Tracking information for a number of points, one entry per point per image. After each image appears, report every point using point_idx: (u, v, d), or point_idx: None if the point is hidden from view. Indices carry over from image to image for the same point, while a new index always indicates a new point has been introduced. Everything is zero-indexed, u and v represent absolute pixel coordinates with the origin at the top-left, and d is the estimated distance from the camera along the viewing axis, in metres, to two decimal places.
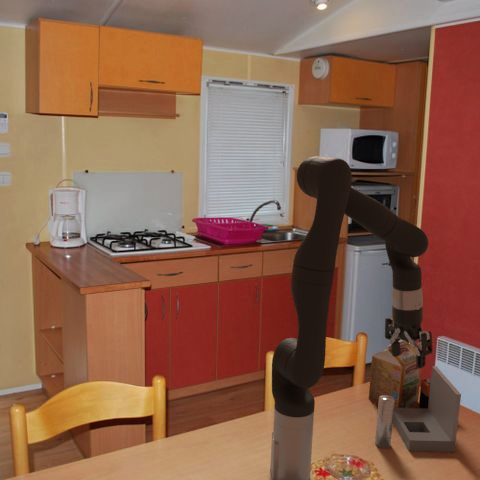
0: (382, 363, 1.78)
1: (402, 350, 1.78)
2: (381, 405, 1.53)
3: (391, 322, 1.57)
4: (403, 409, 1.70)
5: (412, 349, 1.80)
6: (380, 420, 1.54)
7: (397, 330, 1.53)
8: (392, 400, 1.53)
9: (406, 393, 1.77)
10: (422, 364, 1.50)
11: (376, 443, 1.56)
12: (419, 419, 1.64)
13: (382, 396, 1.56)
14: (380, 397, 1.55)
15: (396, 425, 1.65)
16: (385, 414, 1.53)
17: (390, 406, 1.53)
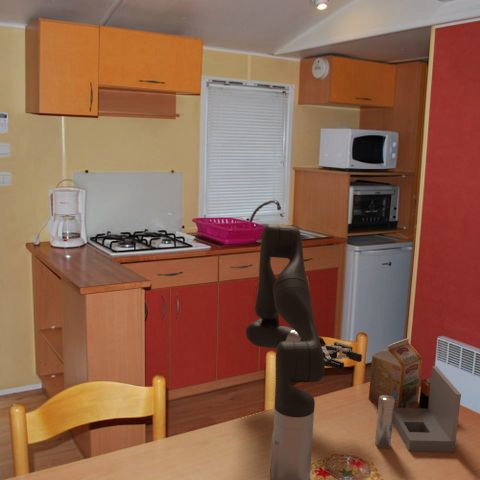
0: (382, 363, 1.78)
1: (402, 350, 1.78)
2: (381, 405, 1.53)
3: None
4: (403, 409, 1.70)
5: (412, 349, 1.80)
6: (380, 420, 1.54)
7: (322, 347, 1.65)
8: (392, 400, 1.53)
9: (406, 393, 1.77)
10: None
11: (376, 443, 1.56)
12: (419, 419, 1.64)
13: (382, 396, 1.56)
14: (380, 397, 1.55)
15: (396, 425, 1.65)
16: (385, 414, 1.53)
17: (390, 406, 1.53)
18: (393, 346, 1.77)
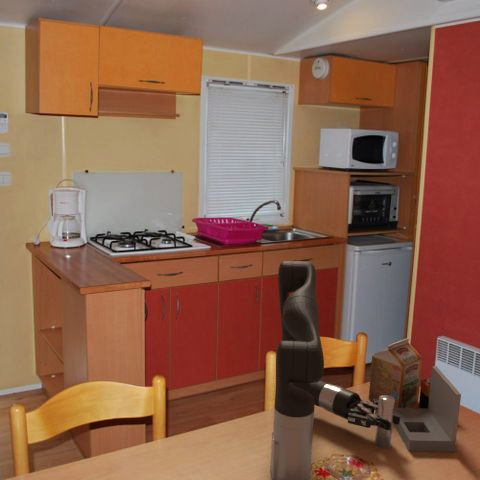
0: (382, 363, 1.78)
1: (402, 350, 1.78)
2: (381, 404, 1.53)
3: None
4: (403, 409, 1.70)
5: (412, 349, 1.80)
6: None
7: (360, 405, 1.59)
8: (392, 400, 1.53)
9: (406, 393, 1.77)
10: None
11: (376, 443, 1.56)
12: (419, 419, 1.64)
13: (382, 396, 1.56)
14: (380, 397, 1.55)
15: (396, 425, 1.65)
16: (385, 414, 1.53)
17: (390, 406, 1.53)
18: (393, 346, 1.77)
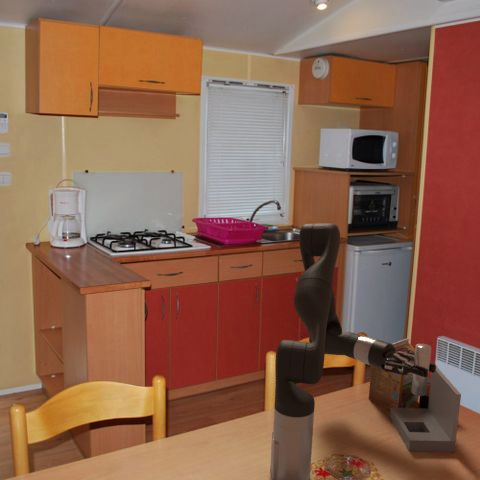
0: None
1: (402, 350, 1.78)
2: (418, 352, 1.55)
3: None
4: (403, 409, 1.70)
5: (412, 349, 1.80)
6: None
7: (396, 354, 1.60)
8: (429, 348, 1.55)
9: (406, 393, 1.77)
10: None
11: (412, 391, 1.58)
12: (419, 419, 1.64)
13: (419, 344, 1.58)
14: (417, 345, 1.57)
15: (396, 425, 1.65)
16: (422, 362, 1.55)
17: (427, 353, 1.55)
18: None
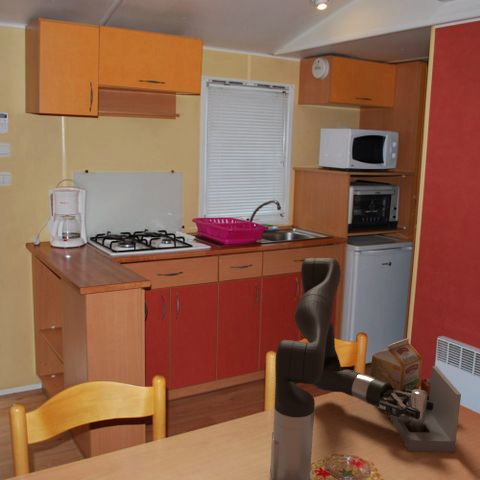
0: (382, 363, 1.78)
1: (402, 350, 1.78)
2: (414, 398, 1.58)
3: None
4: None
5: (412, 349, 1.80)
6: None
7: (393, 394, 1.62)
8: (425, 394, 1.58)
9: None
10: None
11: None
12: None
13: (415, 390, 1.60)
14: (413, 391, 1.59)
15: (396, 425, 1.65)
16: (418, 408, 1.57)
17: (423, 400, 1.57)
18: (393, 346, 1.77)
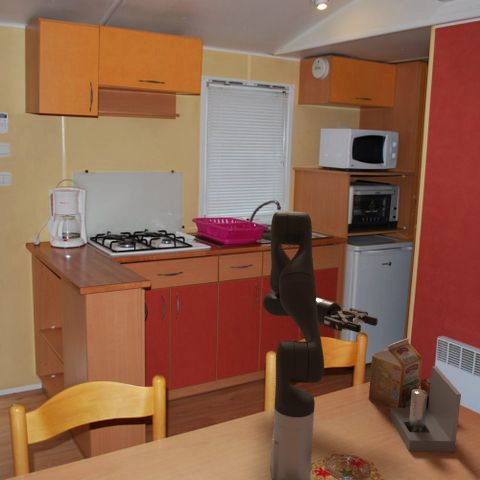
0: (382, 363, 1.78)
1: (402, 350, 1.78)
2: (414, 398, 1.58)
3: None
4: (403, 409, 1.70)
5: (412, 349, 1.80)
6: (413, 413, 1.58)
7: (339, 312, 1.69)
8: (425, 394, 1.58)
9: (406, 393, 1.77)
10: None
11: None
12: None
13: (415, 390, 1.60)
14: (413, 391, 1.59)
15: (396, 425, 1.65)
16: (418, 408, 1.57)
17: (423, 399, 1.57)
18: (393, 346, 1.77)
